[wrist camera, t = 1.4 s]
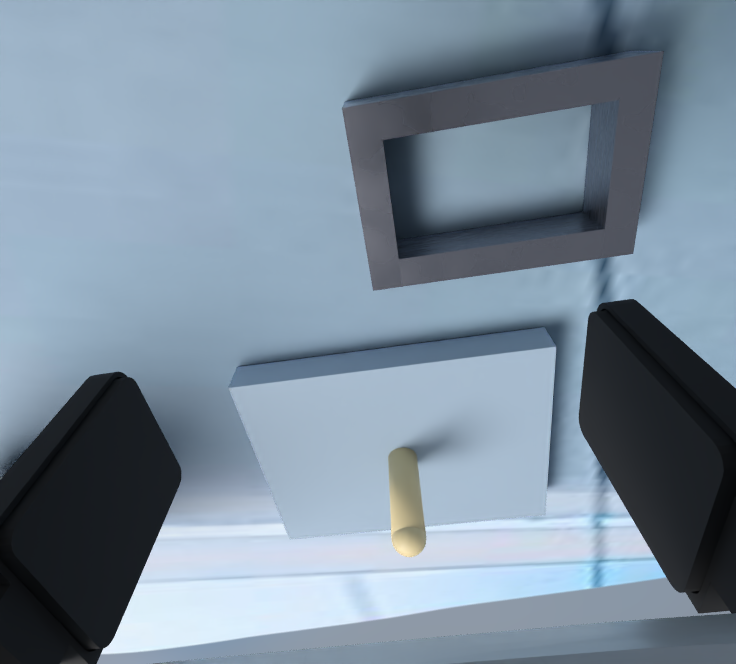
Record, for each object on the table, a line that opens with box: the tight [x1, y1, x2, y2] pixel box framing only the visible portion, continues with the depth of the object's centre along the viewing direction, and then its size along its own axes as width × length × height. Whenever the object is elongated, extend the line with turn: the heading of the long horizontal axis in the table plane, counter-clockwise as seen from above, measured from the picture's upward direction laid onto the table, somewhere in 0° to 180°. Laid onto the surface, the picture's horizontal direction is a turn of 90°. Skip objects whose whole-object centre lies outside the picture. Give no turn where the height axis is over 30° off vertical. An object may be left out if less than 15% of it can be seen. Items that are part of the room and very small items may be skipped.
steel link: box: [342, 51, 664, 291], centre depth 21 cm, size 12×8×2 cm, turn 99°
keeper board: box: [229, 327, 556, 557], centre depth 27 cm, size 18×14×8 cm
